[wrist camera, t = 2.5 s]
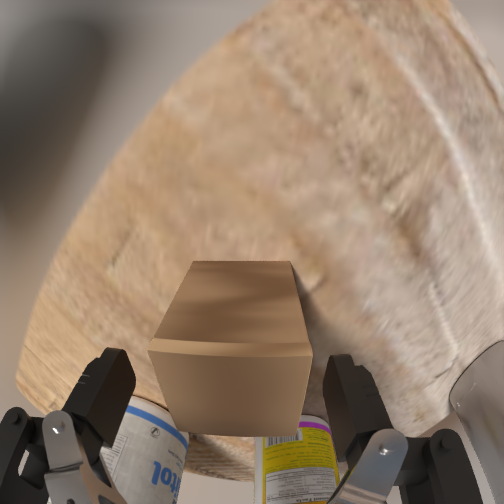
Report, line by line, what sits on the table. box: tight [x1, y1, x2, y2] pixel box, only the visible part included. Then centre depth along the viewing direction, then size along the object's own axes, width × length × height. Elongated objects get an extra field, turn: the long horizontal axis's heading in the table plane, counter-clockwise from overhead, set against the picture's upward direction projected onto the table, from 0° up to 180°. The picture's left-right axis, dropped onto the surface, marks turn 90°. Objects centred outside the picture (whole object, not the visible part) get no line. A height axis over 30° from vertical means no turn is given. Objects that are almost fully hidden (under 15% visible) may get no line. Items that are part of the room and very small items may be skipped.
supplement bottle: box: [254, 415, 340, 504], centre depth 14 cm, size 7×7×13 cm
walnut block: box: [147, 261, 313, 437], centre depth 12 cm, size 5×5×7 cm
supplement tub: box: [47, 396, 189, 504], centre depth 13 cm, size 10×10×15 cm
